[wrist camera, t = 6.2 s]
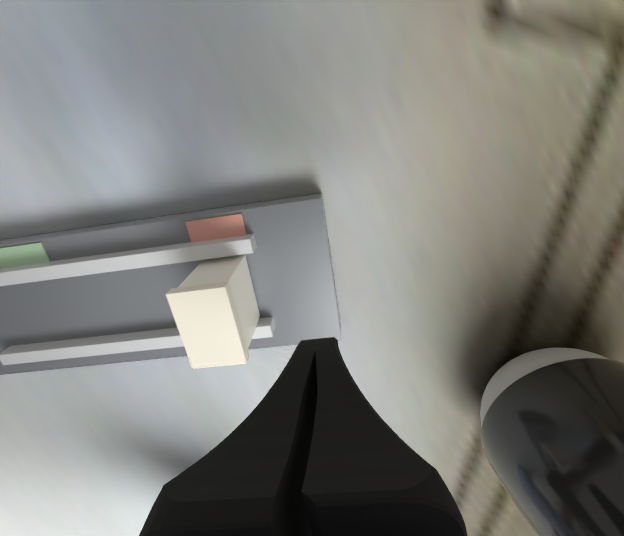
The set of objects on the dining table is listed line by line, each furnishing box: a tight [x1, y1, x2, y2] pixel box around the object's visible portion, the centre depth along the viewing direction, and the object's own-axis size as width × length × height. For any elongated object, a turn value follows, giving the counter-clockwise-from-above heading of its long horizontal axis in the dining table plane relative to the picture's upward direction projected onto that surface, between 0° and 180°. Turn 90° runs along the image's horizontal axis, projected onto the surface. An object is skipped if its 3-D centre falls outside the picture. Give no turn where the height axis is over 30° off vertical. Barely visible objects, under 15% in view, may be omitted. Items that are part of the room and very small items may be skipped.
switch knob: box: [166, 255, 260, 369], centre depth 18 cm, size 4×3×4 cm, turn 9°
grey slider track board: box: [0, 193, 341, 375], centre depth 21 cm, size 9×24×2 cm, turn 99°
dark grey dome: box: [480, 347, 624, 536], centre depth 17 cm, size 10×10×15 cm
